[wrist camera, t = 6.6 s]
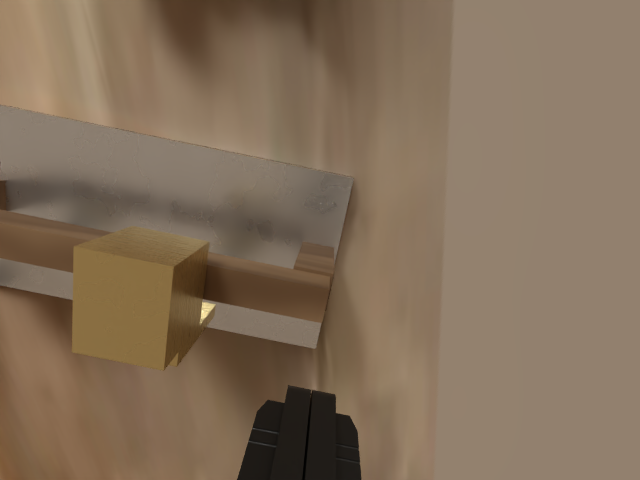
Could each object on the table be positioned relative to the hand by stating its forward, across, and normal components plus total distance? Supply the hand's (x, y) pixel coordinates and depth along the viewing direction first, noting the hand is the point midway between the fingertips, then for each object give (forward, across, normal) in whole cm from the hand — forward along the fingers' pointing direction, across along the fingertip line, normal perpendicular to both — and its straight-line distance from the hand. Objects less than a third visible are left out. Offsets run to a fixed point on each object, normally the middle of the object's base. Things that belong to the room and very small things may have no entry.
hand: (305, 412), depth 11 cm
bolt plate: (+17, +13, +1) cm, 21 cm away
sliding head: (+15, +8, +1) cm, 17 cm away
